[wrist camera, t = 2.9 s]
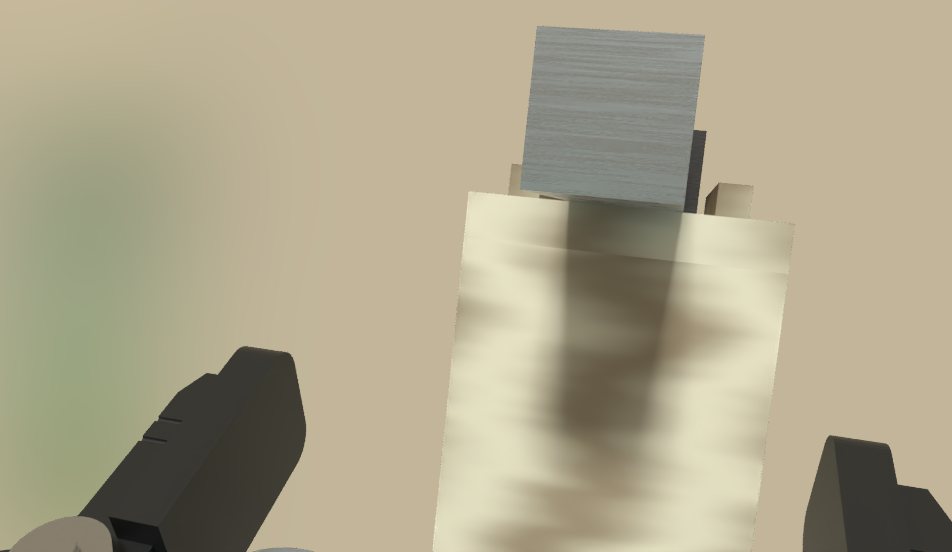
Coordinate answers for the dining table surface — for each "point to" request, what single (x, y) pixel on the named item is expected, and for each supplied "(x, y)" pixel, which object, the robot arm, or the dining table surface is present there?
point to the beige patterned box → (610, 375)
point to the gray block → (615, 118)
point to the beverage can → (283, 550)
